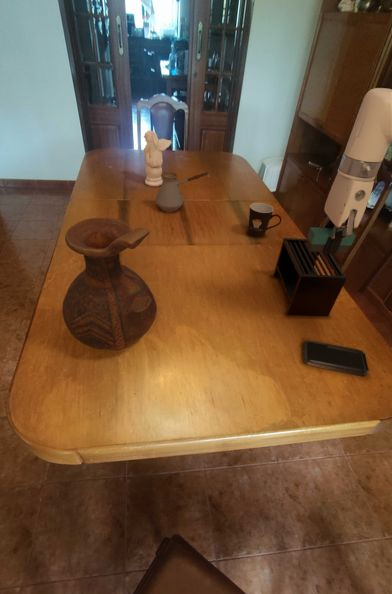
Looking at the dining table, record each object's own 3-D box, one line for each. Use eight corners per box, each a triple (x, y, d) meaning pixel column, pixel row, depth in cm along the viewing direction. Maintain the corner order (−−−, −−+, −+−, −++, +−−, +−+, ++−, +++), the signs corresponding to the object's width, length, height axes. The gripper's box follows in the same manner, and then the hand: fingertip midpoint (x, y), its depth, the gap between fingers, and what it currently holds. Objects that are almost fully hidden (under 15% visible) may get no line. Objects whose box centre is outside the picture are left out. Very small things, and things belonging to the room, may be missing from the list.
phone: (369, 374, 75) (305, 361, 76) (367, 377, 75) (303, 364, 77) (364, 350, 80) (304, 338, 81) (362, 353, 81) (303, 341, 82)
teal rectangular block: (342, 245, 80) (350, 228, 77) (348, 253, 77) (356, 236, 74) (304, 244, 79) (310, 227, 76) (308, 251, 77) (314, 234, 73)
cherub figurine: (145, 178, 154) (143, 124, 138) (170, 179, 156) (171, 126, 140) (144, 187, 146) (141, 131, 130) (171, 189, 147) (171, 133, 131)
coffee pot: (153, 212, 129) (152, 172, 118) (157, 201, 137) (156, 162, 126) (205, 217, 129) (209, 177, 118) (206, 205, 137) (210, 167, 126)
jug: (67, 368, 71) (24, 245, 50) (70, 307, 85) (37, 191, 64) (163, 355, 76) (162, 238, 54) (151, 300, 90) (146, 189, 68)
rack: (308, 276, 104) (323, 239, 95) (328, 316, 90) (347, 278, 81) (273, 275, 103) (283, 237, 94) (287, 315, 89) (301, 276, 80)
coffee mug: (240, 232, 122) (245, 206, 115) (254, 226, 127) (260, 200, 119) (263, 244, 117) (270, 218, 110) (277, 238, 121) (285, 212, 114)
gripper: (395, 182, 60) (353, 267, 73) (359, 155, 71) (329, 233, 84) (357, 180, 59) (322, 266, 72) (327, 153, 70) (302, 232, 84)
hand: (326, 247), depth 78 cm, fingers closed on teal rectangular block, 3 cm apart
